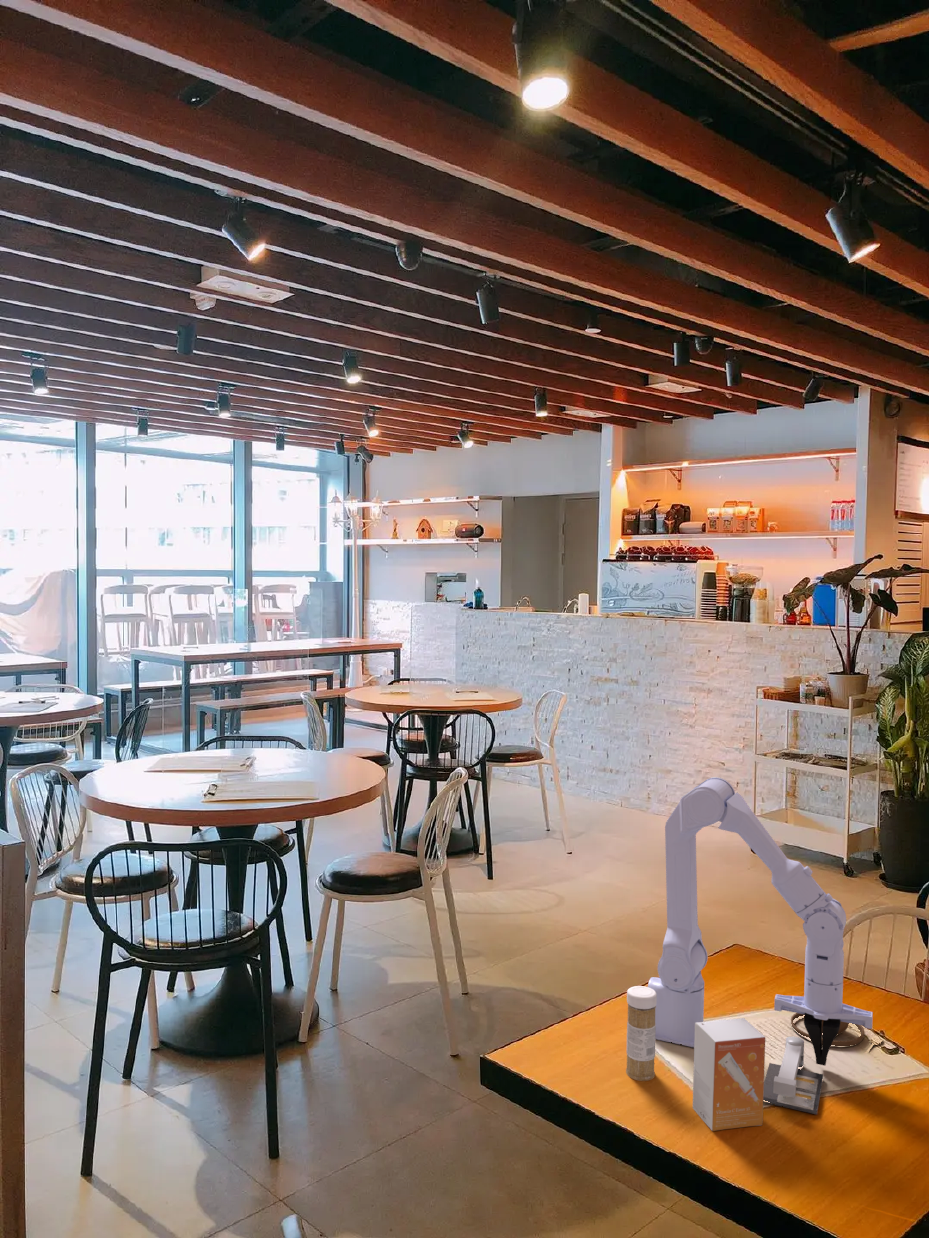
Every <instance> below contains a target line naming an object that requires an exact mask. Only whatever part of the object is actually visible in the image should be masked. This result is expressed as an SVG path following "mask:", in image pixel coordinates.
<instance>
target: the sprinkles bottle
mask: <svg viewBox="0 0 929 1238" xmlns="http://www.w3.org/2000/svg"><path fill="white" fill-rule="evenodd" d="M626 1002H627V1021H626V1024H627V1025H626V1026H627V1027H626V1068H625V1073H626V1074H625V1075H627V1076H628V1077H629V1078H630V1079H633V1080H635V1081H639V1082H646V1081H648V1082H649V1081H651V1080H653V1079H654V1078H655V1075H656V1074H655V1058H656V1039H655V1033H656V1024H655V1008H656V1004H657V994H656V992H655V991H654V990H653V989H651V988H649V987H648V986H645V985H644V986H642V985H635V986H630V987H629V988H628V989H627V991H626Z"/></svg>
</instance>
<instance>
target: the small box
mask: <svg viewBox="0 0 929 1238" xmlns="http://www.w3.org/2000/svg"><path fill="white" fill-rule="evenodd" d="M765 1059H766V1036H765V1035H764V1034H763V1033H762V1032H761V1031H759V1030H758V1029H757V1028H756V1027H755V1026H754V1025H753V1024H751V1022H750V1021H748V1020H747V1019H746V1018H745V1017H742V1018H741V1017H740V1018H739V1017H738V1018H729V1019H726V1018H725V1019H715V1020H708V1021H703V1022H696V1023H695V1041H694V1047H693V1075H692V1077H693V1078H692V1079H693V1080H692V1084H693V1085H692V1109H693V1111H694V1112H695V1113H696V1114H697V1115H698V1117H699V1118H700V1119H701V1120H702V1121H703V1122H704V1123H705V1125H706V1126H707V1127H708V1128H709V1129H710V1130H711V1132H715V1131H720V1130H721V1131H722V1130H730V1129H737V1128H739V1129H740V1128H745V1127H747V1128H748V1127H758V1126H763V1121H764V1118H763V1117H764V1116H763V1115H764V1102H763V1095H764V1081H765V1065H766V1064H765V1063H766V1062H765V1061H766V1060H765Z"/></svg>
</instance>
